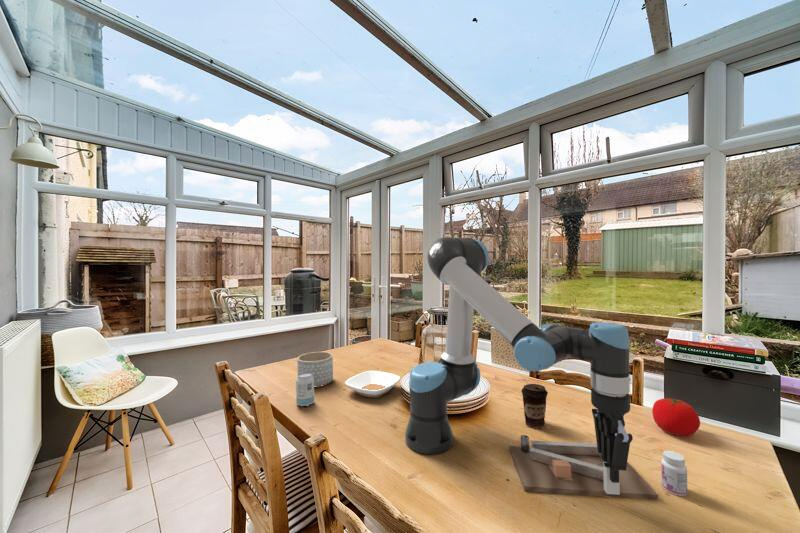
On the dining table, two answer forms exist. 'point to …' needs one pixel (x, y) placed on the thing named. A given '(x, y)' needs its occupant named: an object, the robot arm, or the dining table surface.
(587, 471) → the bar
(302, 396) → the beverage can
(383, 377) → the bowl
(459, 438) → the dining table surface
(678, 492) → the pill bottle
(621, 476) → the board
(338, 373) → the dining table surface
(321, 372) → the planter
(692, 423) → the tomato
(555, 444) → the bar
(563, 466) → the block
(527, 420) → the coffee cup
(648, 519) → the dining table surface
